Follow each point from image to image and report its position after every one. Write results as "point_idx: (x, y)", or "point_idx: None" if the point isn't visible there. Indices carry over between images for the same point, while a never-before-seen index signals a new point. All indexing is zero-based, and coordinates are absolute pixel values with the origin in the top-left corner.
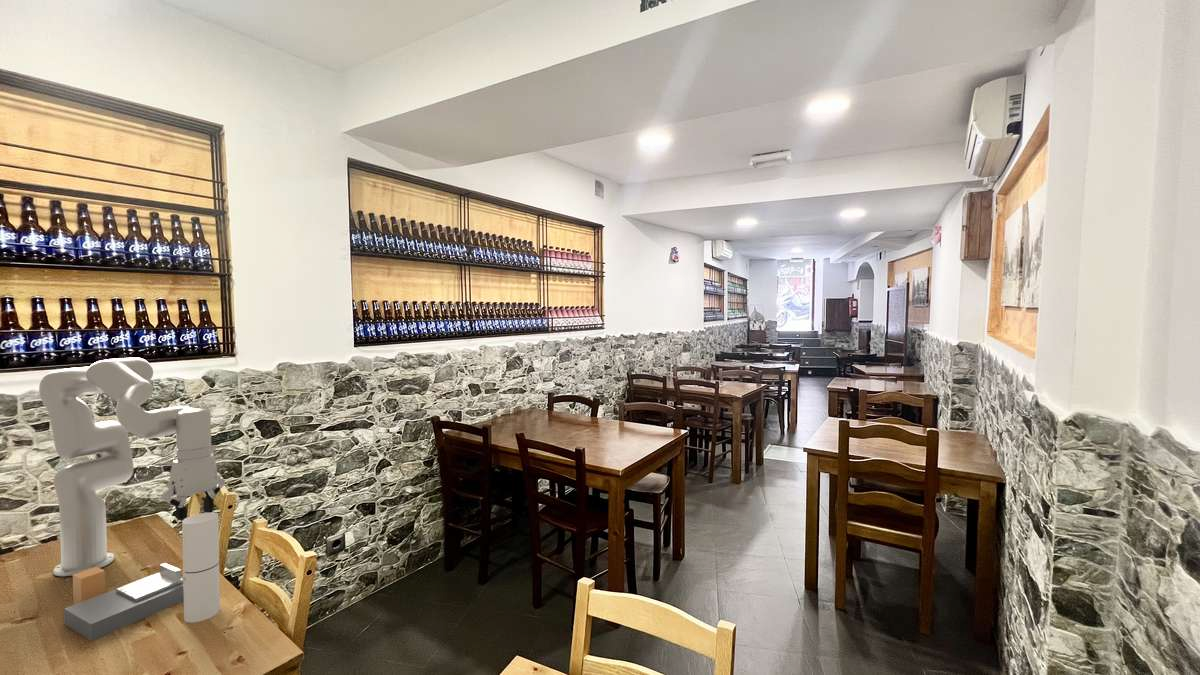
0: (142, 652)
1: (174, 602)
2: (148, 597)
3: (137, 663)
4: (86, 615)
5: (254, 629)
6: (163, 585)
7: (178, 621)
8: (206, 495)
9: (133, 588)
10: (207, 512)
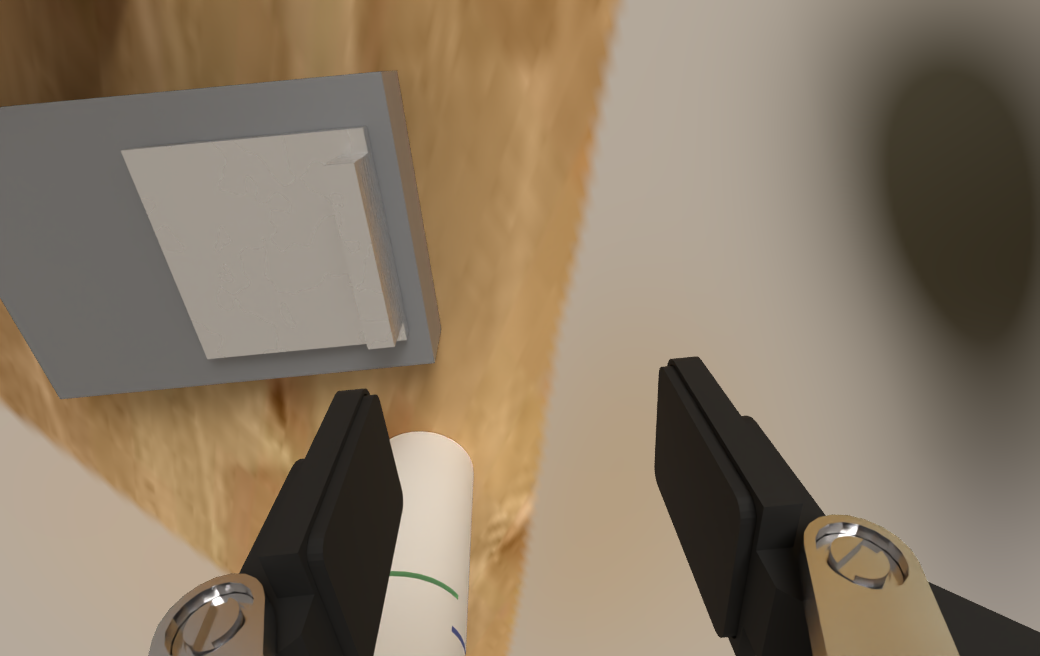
0: (244, 534)
1: None
2: None
3: (229, 568)
4: (28, 305)
5: (481, 630)
6: (324, 330)
7: None
8: (804, 605)
9: (202, 236)
10: (656, 440)
